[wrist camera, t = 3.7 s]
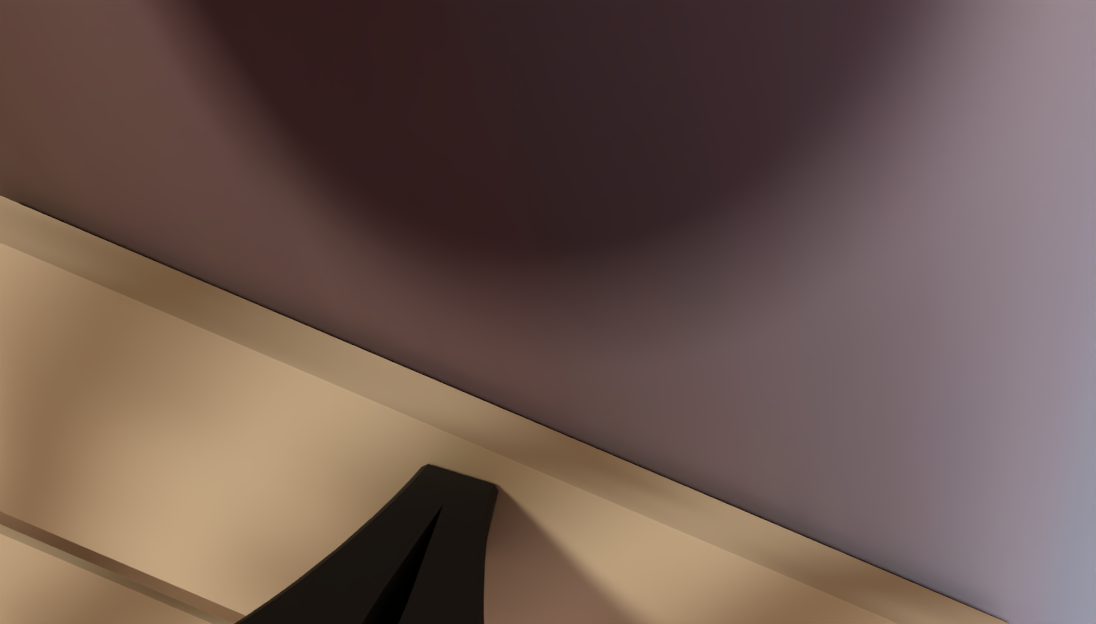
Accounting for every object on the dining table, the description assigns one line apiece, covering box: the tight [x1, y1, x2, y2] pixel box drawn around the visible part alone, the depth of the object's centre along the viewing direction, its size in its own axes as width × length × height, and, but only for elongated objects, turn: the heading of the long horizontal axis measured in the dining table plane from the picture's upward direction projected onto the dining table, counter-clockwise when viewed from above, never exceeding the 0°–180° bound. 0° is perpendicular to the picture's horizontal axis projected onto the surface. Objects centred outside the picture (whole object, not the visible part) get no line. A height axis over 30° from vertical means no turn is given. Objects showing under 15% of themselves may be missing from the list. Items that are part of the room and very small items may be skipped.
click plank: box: [0, 196, 1009, 624], centre depth 14 cm, size 20×8×1 cm, turn 70°
